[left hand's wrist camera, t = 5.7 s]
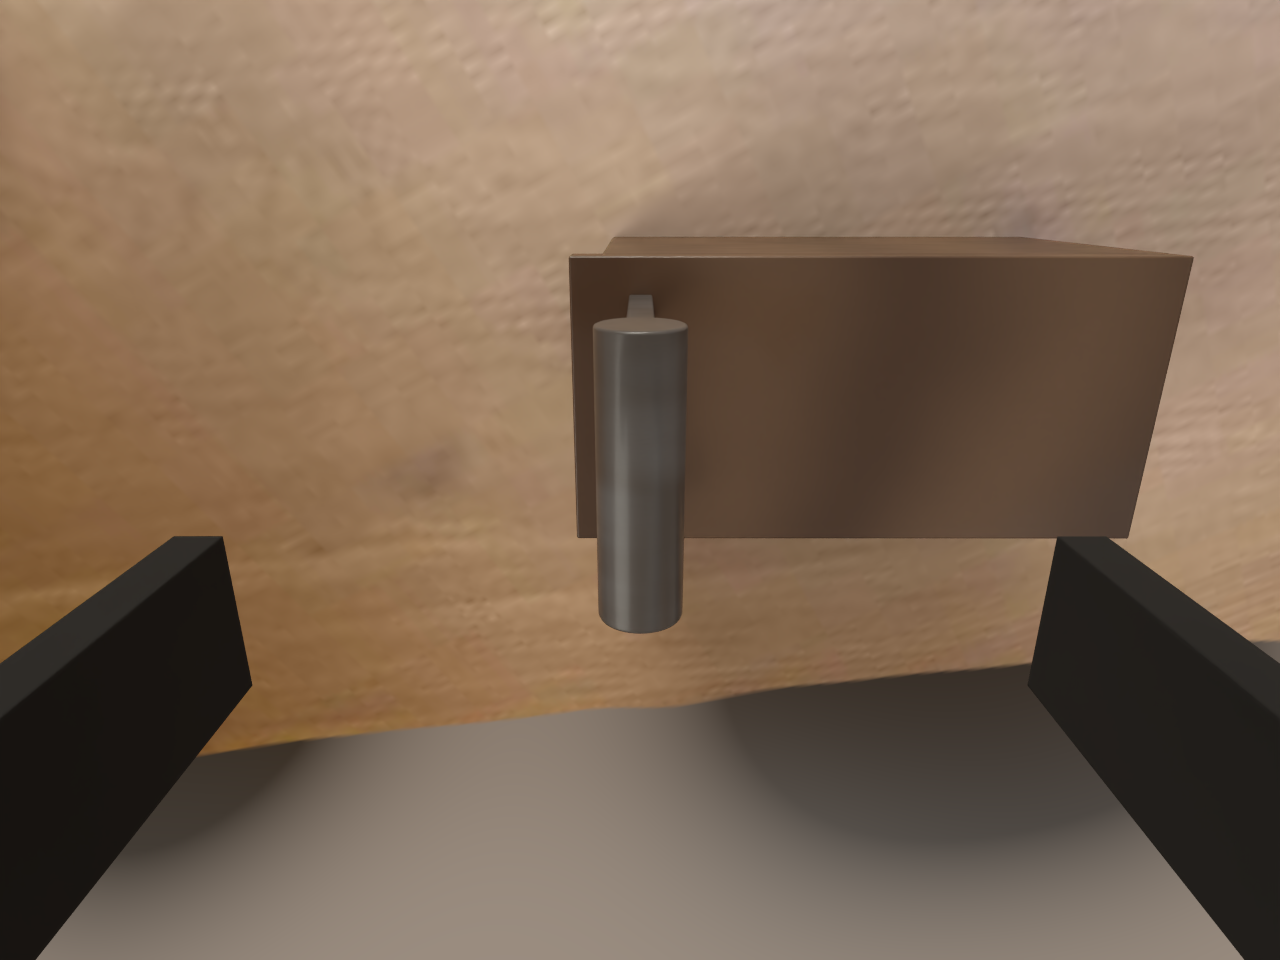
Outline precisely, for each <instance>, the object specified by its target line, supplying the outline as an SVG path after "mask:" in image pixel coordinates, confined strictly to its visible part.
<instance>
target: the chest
mask: <svg viewBox="0 0 1280 960" xmlns="http://www.w3.org/2000/svg"><path fill="white" fill-rule="evenodd" d="M603 254H1168V253H1159V252H1150V251H1141V250H1132V249H1123V248H1114V247H1105V246H1096V245H1087V244H1078V243H1069V242H1060V241H1051V240H1042V239H1033V238H1024V237H614V238H613V239H612V240H611V242H610V244H609V245H608V247H607V248H606V250H605V251H604V253H603Z"/></svg>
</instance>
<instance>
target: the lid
mask: <svg viewBox="0 0 1280 960" xmlns="http://www.w3.org/2000/svg"><path fill="white" fill-rule="evenodd" d="M1192 263H1193V257H1192V256H1186V255H1177V254H572V255H571V256H570V257H569V282H570V316H571V349H572V382H573V416H574V449H575V482H576V515H577V537H578V538H597V558H598V607H599V615H600V617H601V619H602V621H603V622H604V623H605V624H607V625H608V626H610V627H612V628H614V629H616V630H619V631H623V632H628V633H640V634H641V633H653V632H658V631H662V630H665V629H667V628H669V627H671V626H673V625H674V624H675V623H677V622H678V620H679V619H680V617H681V615H682V601H683V554H684V538H1057V536H1106V537H1108V538H1128V536H1129V532H1130V527H1131V523H1132V519H1133V514H1134V510H1135V506H1136V502H1137V497H1138V493H1139V489H1140V485H1141V480H1142V476H1143V472H1144V468H1145V463H1146V459H1147V455H1148V450H1149V446H1150V442H1151V438H1152V433H1153V429H1154V425H1155V421H1156V416H1157V412H1158V408H1159V403H1160V399H1161V395H1162V391H1163V386H1164V382H1165V378H1166V374H1167V369H1168V365H1169V361H1170V357H1171V352H1172V348H1173V344H1174V339H1175V335H1176V331H1177V327H1178V322H1179V318H1180V314H1181V310H1182V305H1183V301H1184V297H1185V293H1186V288H1187V284H1188V280H1189V275H1190V271H1191V267H1192Z"/></svg>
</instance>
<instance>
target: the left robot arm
mask: <svg viewBox="0 0 1280 960" xmlns="http://www.w3.org/2000/svg"><path fill="white" fill-rule="evenodd" d="M251 686H252V681H251V676H250V671H249V666H248V661H247V656H246V651H245V646H244V641H243V636H242V631H241V626H240V621H239V616H238V611H237V606H236V601H235V596H234V591H233V586H232V581H231V576H230V571H229V566H228V561H227V556H226V551H225V546H224V541H223V536H174V537H172V538H171V539H170V540H168V541H167V542H166V543H164V544H163V545H161V546H160V547H159V548H157V549H156V550H155V551H153V552H152V553H151V554H149V555H148V556H146V557H145V558H144V559H142V560H141V561H140V562H138V563H137V564H136V565H134V566H133V567H131V568H130V569H129V570H127V571H126V572H125V573H123V574H122V575H121V576H119V577H118V578H116V579H115V580H114V581H112V582H111V583H110V584H108V585H107V586H106V587H104V588H103V589H101V590H100V591H99V592H97V593H96V594H95V595H93V596H92V597H90V598H89V599H88V600H86V601H85V602H84V603H82V604H81V605H80V606H78V607H77V608H75V609H74V610H73V611H71V612H70V613H69V614H67V615H66V616H65V617H63V618H62V619H60V620H59V621H58V622H56V623H55V624H54V625H52V626H51V627H50V628H48V629H47V630H45V631H44V632H43V633H41V634H40V635H39V636H37V637H36V638H35V639H33V640H32V641H30V642H29V643H28V644H26V645H25V646H24V647H22V648H21V649H20V650H18V651H17V652H15V653H14V654H13V655H11V656H10V657H9V658H7V659H6V660H5V661H3V662H2V663H0V960H36V959H37V957H38V956H39V955H40V953H41V952H42V951H43V950H44V948H45V947H46V946H47V945H48V943H49V942H50V941H51V940H52V938H53V937H54V936H55V934H56V933H57V932H58V931H59V929H60V928H61V927H62V926H63V924H64V923H65V922H66V921H67V919H68V918H69V917H70V916H71V914H72V913H73V912H74V910H75V909H76V908H77V907H78V905H79V904H80V903H81V902H82V900H83V899H84V898H85V896H86V895H87V894H88V893H89V891H90V890H91V889H92V888H93V886H94V885H95V884H96V883H97V881H98V880H99V879H100V878H101V876H102V875H103V874H104V873H105V871H106V870H107V869H108V867H109V866H110V865H111V864H112V862H113V861H114V860H115V859H116V857H117V856H118V855H119V853H120V852H121V851H122V850H123V848H124V847H125V846H126V845H127V843H128V842H129V841H130V840H131V838H132V837H133V836H134V835H135V833H136V832H137V831H138V829H139V828H140V827H141V826H142V824H143V823H144V822H145V821H146V819H147V818H148V817H149V816H150V814H151V813H152V812H153V811H154V809H155V808H156V807H157V805H158V804H159V803H160V802H161V800H162V799H163V798H164V797H165V795H166V794H167V793H168V791H169V790H170V789H171V788H172V786H173V785H174V784H175V783H176V781H177V780H178V779H179V778H180V776H181V775H182V774H183V772H184V771H185V770H186V769H187V767H188V766H189V765H190V764H191V762H192V761H193V760H194V759H195V757H196V756H197V755H198V754H199V752H200V751H201V750H202V748H203V747H204V746H205V745H206V743H207V742H208V741H209V740H210V738H211V737H212V736H213V735H214V733H215V732H216V731H217V730H218V728H219V727H220V726H221V724H222V723H223V722H224V721H225V719H226V718H227V717H228V716H229V714H230V713H231V712H232V711H233V709H234V708H235V707H236V705H237V704H238V703H239V702H240V700H241V699H242V698H243V697H244V695H245V694H246V693H247V692H248V690H249V689H250V688H251ZM1028 686H1029V688H1030V689H1031V690H1032V692H1033V693H1034V694H1035V695H1036V697H1037V698H1038V699H1039V700H1040V702H1041V703H1042V704H1043V705H1044V707H1045V708H1046V709H1047V711H1048V712H1049V713H1050V714H1051V716H1052V717H1053V718H1054V719H1055V721H1056V722H1057V723H1058V724H1059V726H1060V727H1061V728H1062V729H1063V731H1064V732H1065V733H1066V735H1067V736H1068V737H1069V738H1070V740H1071V741H1072V742H1073V743H1074V745H1075V746H1076V747H1077V748H1078V750H1079V751H1080V752H1081V754H1082V755H1083V756H1084V757H1085V759H1086V760H1087V761H1088V762H1089V764H1090V765H1091V766H1092V767H1093V769H1094V770H1095V771H1096V773H1097V774H1098V775H1099V776H1100V778H1101V779H1102V780H1103V781H1104V783H1105V784H1106V785H1107V786H1108V788H1109V789H1110V790H1111V791H1112V793H1113V794H1114V795H1115V797H1116V798H1117V799H1118V800H1119V802H1120V803H1121V804H1122V805H1123V807H1124V808H1125V809H1126V811H1127V812H1128V813H1129V814H1130V816H1131V817H1132V818H1133V819H1134V821H1135V822H1136V823H1137V824H1138V826H1139V827H1140V828H1141V829H1142V831H1143V832H1144V833H1145V835H1146V836H1147V837H1148V838H1149V840H1150V841H1151V842H1152V843H1153V845H1154V846H1155V847H1156V848H1157V850H1158V851H1159V852H1160V853H1161V855H1162V856H1163V857H1164V859H1165V860H1166V861H1167V862H1168V864H1169V865H1170V866H1171V867H1172V869H1173V870H1174V871H1175V873H1176V874H1177V875H1178V876H1179V878H1180V879H1181V880H1182V881H1183V883H1184V884H1185V885H1186V886H1187V888H1188V889H1189V890H1190V891H1191V893H1192V894H1193V895H1194V897H1195V898H1196V899H1197V900H1198V902H1199V903H1200V904H1201V905H1202V907H1203V908H1204V909H1205V910H1206V912H1207V913H1208V914H1209V916H1210V917H1211V918H1212V919H1213V921H1214V922H1215V923H1216V924H1217V926H1218V927H1219V928H1220V929H1221V931H1222V932H1223V933H1224V934H1225V936H1226V937H1227V938H1228V940H1229V941H1230V942H1231V943H1232V945H1233V946H1234V947H1235V948H1236V950H1237V951H1238V952H1239V953H1240V955H1241V956H1242V957H1243V959H1244V960H1280V663H1278V662H1277V661H1275V660H1274V659H1273V658H1271V657H1270V656H1269V655H1267V654H1266V653H1264V652H1263V651H1262V650H1260V649H1259V648H1258V647H1256V646H1255V645H1254V644H1252V643H1251V642H1250V641H1248V640H1247V639H1245V638H1244V637H1243V636H1241V635H1240V634H1239V633H1237V632H1236V631H1235V630H1233V629H1232V628H1230V627H1229V626H1228V625H1226V624H1225V623H1224V622H1222V621H1221V620H1220V619H1218V618H1217V617H1215V616H1214V615H1213V614H1211V613H1210V612H1209V611H1207V610H1206V609H1205V608H1203V607H1202V606H1200V605H1199V604H1198V603H1196V602H1195V601H1194V600H1192V599H1191V598H1190V597H1188V596H1187V595H1185V594H1184V593H1183V592H1181V591H1180V590H1179V589H1177V588H1176V587H1174V586H1173V585H1172V584H1170V583H1169V582H1168V581H1166V580H1165V579H1164V578H1162V577H1161V576H1159V575H1158V574H1157V573H1155V572H1154V571H1153V570H1151V569H1150V568H1149V567H1147V566H1146V565H1144V564H1143V563H1142V562H1140V561H1139V560H1138V559H1136V558H1135V557H1134V556H1132V555H1131V554H1129V553H1128V552H1127V551H1125V550H1124V549H1123V548H1121V547H1120V546H1119V545H1117V544H1116V543H1114V542H1113V541H1112V540H1110V539H1109V538H1108V537H1106V536H1057V541H1056V546H1055V551H1054V556H1053V561H1052V566H1051V571H1050V576H1049V581H1048V586H1047V591H1046V596H1045V601H1044V606H1043V611H1042V616H1041V621H1040V626H1039V631H1038V636H1037V641H1036V646H1035V651H1034V656H1033V661H1032V666H1031V671H1030V676H1029V681H1028Z"/></svg>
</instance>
